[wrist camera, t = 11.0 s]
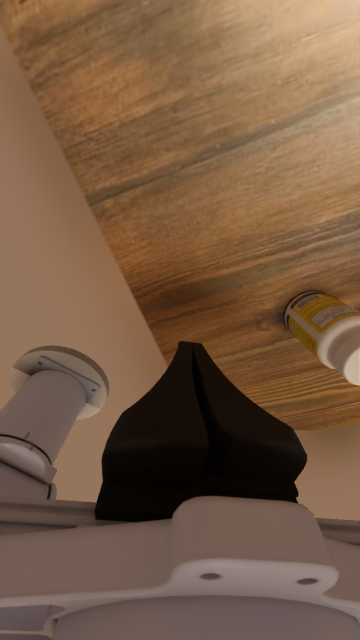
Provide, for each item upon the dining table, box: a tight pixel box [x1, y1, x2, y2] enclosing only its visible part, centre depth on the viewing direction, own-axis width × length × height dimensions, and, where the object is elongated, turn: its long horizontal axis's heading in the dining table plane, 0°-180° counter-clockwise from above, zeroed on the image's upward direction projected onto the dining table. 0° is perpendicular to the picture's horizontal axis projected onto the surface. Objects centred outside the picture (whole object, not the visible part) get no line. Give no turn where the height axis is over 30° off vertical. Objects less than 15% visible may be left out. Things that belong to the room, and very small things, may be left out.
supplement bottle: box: [285, 291, 360, 386], centre depth 18 cm, size 5×5×8 cm
